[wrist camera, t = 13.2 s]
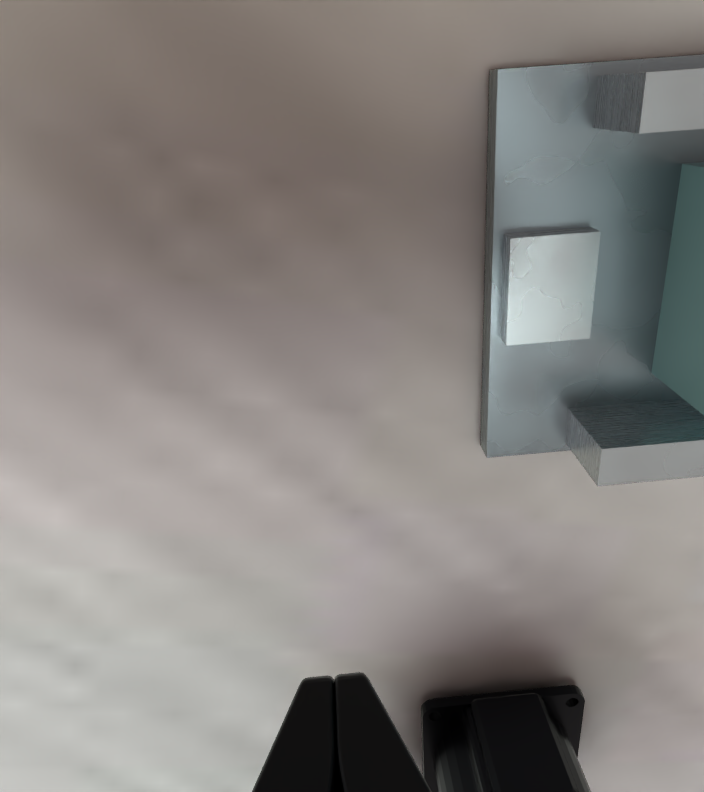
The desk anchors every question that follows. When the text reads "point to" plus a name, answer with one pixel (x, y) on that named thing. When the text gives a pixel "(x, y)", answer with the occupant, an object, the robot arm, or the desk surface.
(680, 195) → the block
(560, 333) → the plate
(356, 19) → the desk surface
